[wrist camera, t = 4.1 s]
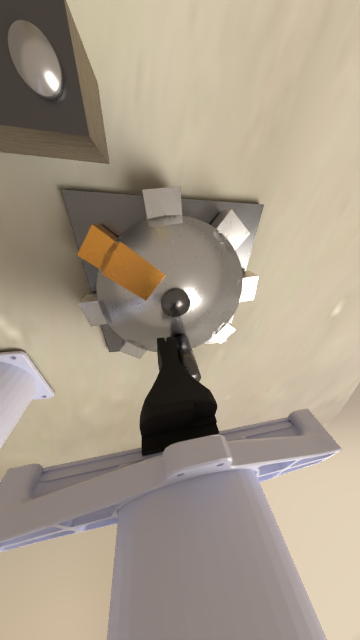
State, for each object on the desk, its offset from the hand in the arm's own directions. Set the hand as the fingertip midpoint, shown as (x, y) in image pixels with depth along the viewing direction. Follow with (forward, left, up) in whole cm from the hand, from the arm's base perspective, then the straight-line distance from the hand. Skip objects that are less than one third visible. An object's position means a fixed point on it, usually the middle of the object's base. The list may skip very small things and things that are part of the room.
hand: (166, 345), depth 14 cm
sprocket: (+1, +4, -4) cm, 5 cm away
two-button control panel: (-6, +14, -4) cm, 16 cm away
